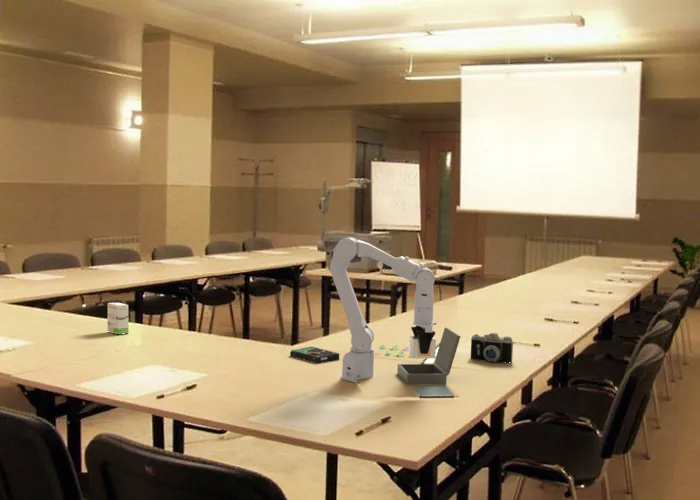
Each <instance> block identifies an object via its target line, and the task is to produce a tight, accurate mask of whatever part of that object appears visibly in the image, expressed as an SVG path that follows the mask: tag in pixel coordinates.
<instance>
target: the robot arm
mask: <svg viewBox="0 0 700 500" xmlns="http://www.w3.org/2000/svg"><path fill="white" fill-rule="evenodd" d="M332 252H333V254H332V258H331V262H330V266H329V271H330V275H331V277H332V280H333V282H334V286H335V289H336V291H337V294H338V297H339V299H340V301H341V305H342V308H343V310H344V313H345V317H346V319H347V322H348V326H349V332H350V334H351V337H350V339H351V340H350V343H351V347H350V350H349V352H345V354H344V355H343V357H342V368H341V369H342V371H341V372H342V373H341V374H342V375H341V376H340V377H339V378H340V379H342V380H345V381H349V382H353V383H355V384H360V381H359V380H363V379H371V378H373V377H374V363H375V362H374V359H375V348H374V347H373V346H372V343H373V341H374V340H375V339H374V338H375V333H374V332H373V330H372V329H371V327H369V326H368V323H367V321H366V319H365V317H364V315H363V312H362V309H361V307H360V303H359V302H358V299H357V296H356V293H355V290H354V287H353V285H352V282H351V279H350V276H349V273H348V270H347V269H348V267H349V266H350V263H351V262H352V260H353V259H354V258H355V257H356V256H357V257H358V258H359V257H361V258H363V257H368V258H371V259H373V260H374V261H377V262H380V263H382V264H384V265H386V266H387V267H391V270H392V272H393V274H395V275H397V276H400V277H401V278H403V279H406V280H407V281H409V282H411V283H412V282H414V283H415V285H416V287H415V293H414V310H413V321H412V322H413V325H414V326H411V327H410V329H411V331H412V333H413V336H418V338H419V343H420V352H421V354H428V352H429V348H430V344H431V341H432V339H433V337H434V336H435V335H436V331H434V330H433V326H434V325H435V326H436V325H437V322H436V321H434V295H435V294H434V290H435V289H434V288H435V287H434V284H435V281H436V279H435V274H434V272H433V270H431V268H429V267H426V266H425V267H424V265H423V264H422V263H421V264H418V263H416V262H414V261H412V260H411V259H410V257H409V256H406V255H405V257H404V256H402V255H401V256H398V257H395V256H393V255H391V254H390V253H389V252H386V251H384V250H382V249H381V248H378V247H376V246H374V245H372V244H371V243H368V242H366V241H363V240H361V239H357V238H355V237H353V236H347V237H345V238H342V239H341V240H339V241H338V242H337V244H336V245H335V247H334V248H333V251H332ZM434 338H435V337H434Z"/></svg>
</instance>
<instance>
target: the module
mask: <svg viewBox="0 0 700 500" xmlns="http://www.w3.org/2000/svg"><path fill="white" fill-rule="evenodd" d="M436 346H437V339H436V337H433V339H432V341H431V344H430V348H429V352H428V354H421V352H420V343H419V338H418V336H414V335H411V336H409V356H411V357H410V358H411V359H416V360H417V359H421V360H422V359H423V360H424V359H425V358H435V359H436V357H435V352H436Z"/></svg>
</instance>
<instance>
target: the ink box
mask: <svg viewBox="0 0 700 500" xmlns="http://www.w3.org/2000/svg"><path fill="white" fill-rule="evenodd" d="M107 331H110V332H113V333H116V334H122V333H128V334H129V304H125V303H121V302H108V303H107Z"/></svg>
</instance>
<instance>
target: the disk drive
mask: <svg viewBox="0 0 700 500" xmlns="http://www.w3.org/2000/svg"><path fill="white" fill-rule="evenodd" d="M289 355H290V357H292V356H294V357H293V358H295V357H298V358H297V359H299V358H301V359H300V360H303V359H305V360H304V361H307V360H308V361H307V362H310V361H312V362H311V363H314V362H315V363H314V364H323V363H328V361H329V362H333V360H335V361H338V360H340V353H338V352H335V351H332V350H326V349H323V348H318V347H314V346H307V347H302V348H299V349H298V348H297V349H296V348H295V349H291V351H290V352H289ZM322 362H323V363H322Z"/></svg>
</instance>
